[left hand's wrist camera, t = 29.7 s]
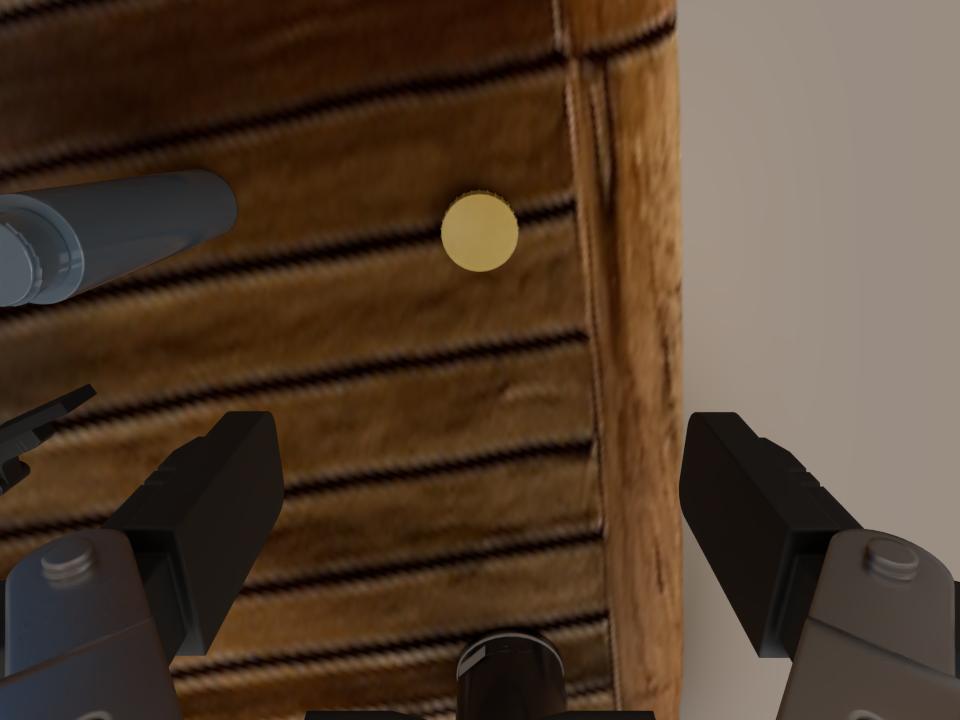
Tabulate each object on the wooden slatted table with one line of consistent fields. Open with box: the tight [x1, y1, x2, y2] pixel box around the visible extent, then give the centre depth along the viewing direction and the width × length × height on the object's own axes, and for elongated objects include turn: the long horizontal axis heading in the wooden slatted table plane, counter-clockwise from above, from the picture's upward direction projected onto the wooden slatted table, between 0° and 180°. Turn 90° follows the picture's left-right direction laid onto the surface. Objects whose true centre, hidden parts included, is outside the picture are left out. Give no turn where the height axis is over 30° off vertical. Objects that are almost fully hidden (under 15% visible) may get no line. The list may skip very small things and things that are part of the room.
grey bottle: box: [0, 169, 237, 307], centre depth 29 cm, size 4×4×18 cm
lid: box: [441, 189, 519, 272], centre depth 36 cm, size 5×5×2 cm
